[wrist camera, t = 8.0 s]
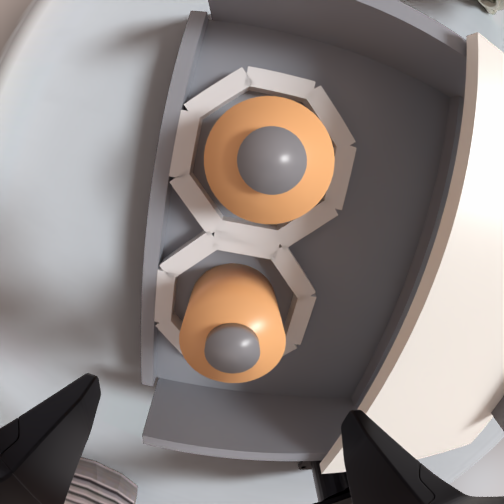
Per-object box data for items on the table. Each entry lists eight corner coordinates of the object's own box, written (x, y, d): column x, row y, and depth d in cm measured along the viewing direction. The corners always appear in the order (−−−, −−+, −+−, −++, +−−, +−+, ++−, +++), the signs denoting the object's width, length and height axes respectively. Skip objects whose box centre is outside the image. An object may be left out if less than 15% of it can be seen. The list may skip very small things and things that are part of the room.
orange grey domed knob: (298, 213, 15) (321, 239, 11) (205, 195, 15) (190, 214, 10) (319, 123, 14) (351, 113, 9) (224, 102, 13) (217, 81, 9)
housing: (441, 391, 22) (469, 433, 16) (148, 375, 20) (127, 439, 14) (531, 149, 15) (584, 159, 9) (200, 11, 12) (182, -49, 6)
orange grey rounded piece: (284, 271, 16) (300, 313, 12) (265, 342, 18) (273, 395, 13) (196, 256, 16) (181, 295, 11) (187, 331, 17) (174, 382, 13)
